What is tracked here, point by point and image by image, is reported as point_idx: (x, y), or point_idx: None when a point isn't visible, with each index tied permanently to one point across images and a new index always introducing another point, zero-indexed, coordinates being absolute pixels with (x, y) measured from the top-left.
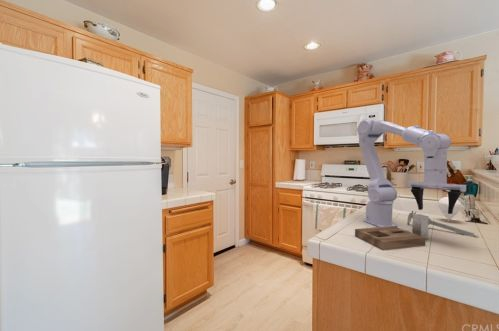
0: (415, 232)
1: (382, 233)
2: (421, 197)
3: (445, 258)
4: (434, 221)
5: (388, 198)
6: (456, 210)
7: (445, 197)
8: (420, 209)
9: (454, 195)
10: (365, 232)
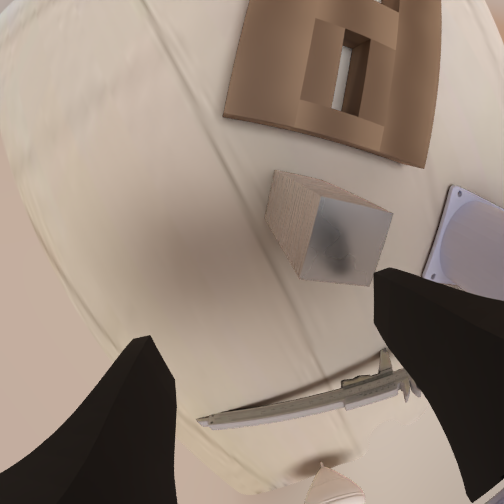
0: (316, 181)
1: (374, 3)
2: (450, 387)
3: (100, 52)
4: (329, 406)
5: None
6: (309, 497)
7: None
8: (378, 273)
9: (3, 489)
10: None
